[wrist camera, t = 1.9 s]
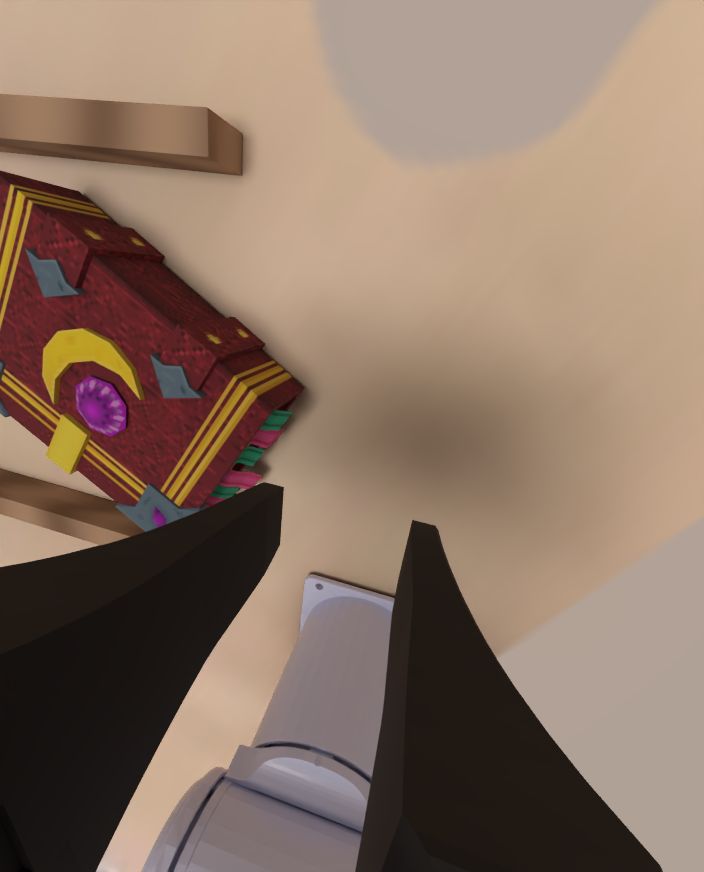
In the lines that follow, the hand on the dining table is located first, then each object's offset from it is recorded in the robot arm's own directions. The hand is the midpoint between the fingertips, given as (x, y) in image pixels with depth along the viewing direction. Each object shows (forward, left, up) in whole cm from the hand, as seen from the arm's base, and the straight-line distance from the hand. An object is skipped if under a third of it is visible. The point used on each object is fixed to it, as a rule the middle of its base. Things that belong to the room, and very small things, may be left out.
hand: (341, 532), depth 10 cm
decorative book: (+13, 0, -10) cm, 17 cm away
